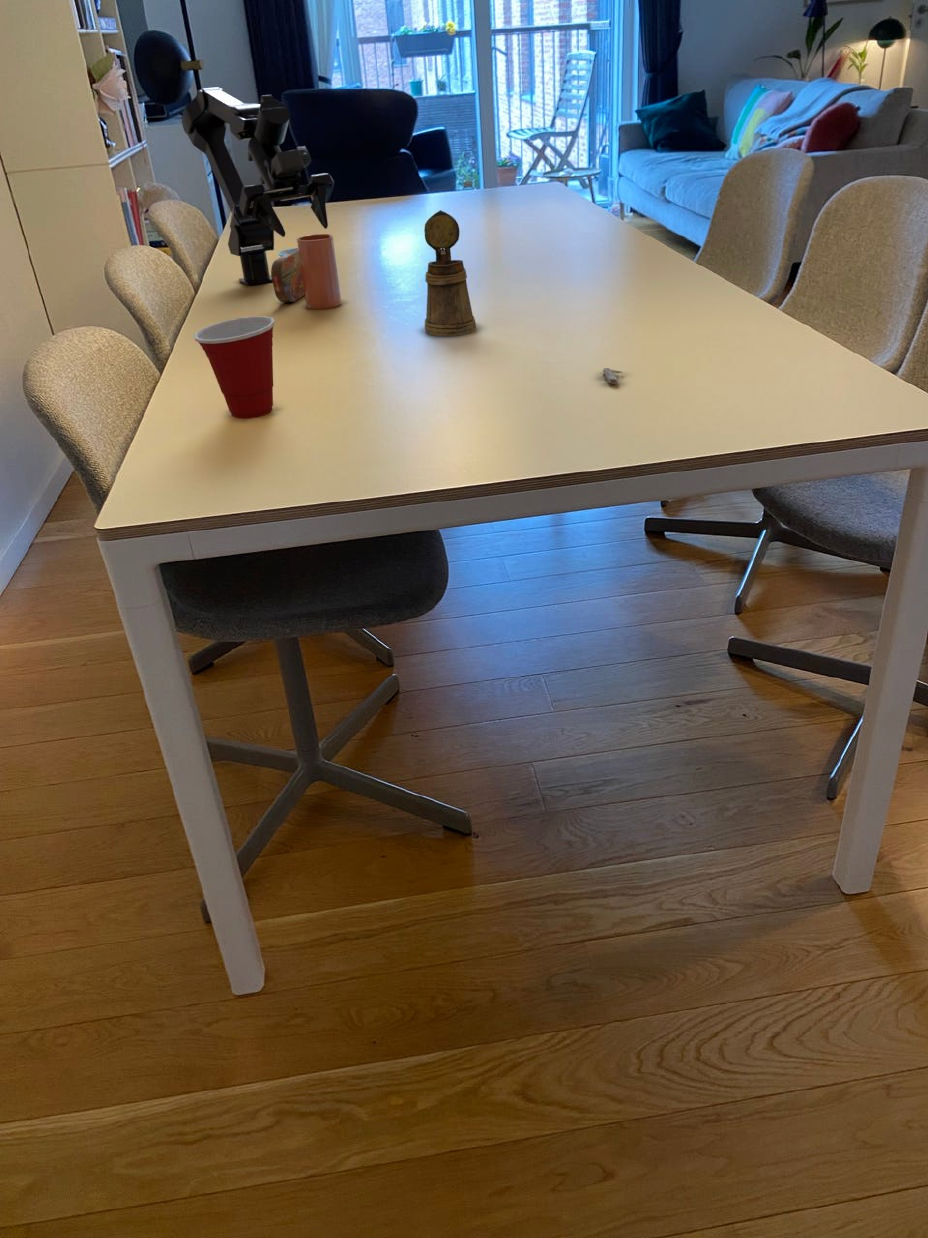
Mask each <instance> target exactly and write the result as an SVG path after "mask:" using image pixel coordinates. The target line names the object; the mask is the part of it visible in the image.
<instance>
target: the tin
mask: <svg viewBox="0 0 928 1238" xmlns="http://www.w3.org/2000/svg"><path fill="white" fill-rule="evenodd" d="M270 268H271V269H270V270H271V271H270V276H271V278H272V281H271V282H272V286H273V289H274V294H275V297H276V298H277V300H278V301H279V302H281V303H295V302H297V301H298V300H300V299H301V298H302V297H305V292H304V285H303V279H302V272H301V265H300V258H299V252H298V251H296V252H289V253H287V254H285V255H284V256H282V257H280V256H279V257H278V258H277V259H275V260H274V261H273V262H272V265H271V267H270Z"/></svg>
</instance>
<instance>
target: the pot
mask: <svg viewBox="0 0 928 1238" xmlns="http://www.w3.org/2000/svg"><path fill="white" fill-rule="evenodd" d="M334 243H335V242H334V236H333V235H332V234H329V233H318V234H317V233H316V234H307V235H303V236H299V237H297V238H296V245H297V248H298V252H299V258H300V265H301V272H302V279H303V285H304V292H305V295H304V299H305V304H306V308H308V309H312V310H324V309H331V308H335V307H339V306H340V305H342V298H341V297H342V296H341V289H340V282H339V281H340V280H339V274H338V267H337V258H336V252H335V251H336V250H335V244H334Z"/></svg>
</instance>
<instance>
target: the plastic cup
mask: <svg viewBox="0 0 928 1238" xmlns="http://www.w3.org/2000/svg"><path fill="white" fill-rule="evenodd" d="M274 326H275V319H274V318H273V317H271V316H267V315H266V316H265V315H263V316H262V315H259V316H258V315H256V316H255V315H253V316H245V317H238V318H234V319H228V320H224V321H220V322H218V323H214V324H210V325H208V326H206V327H204V328H201V329H199V330H198V331H197V332H196V333H194V334H193V338H194V340H195V342H197V343H198V344H199V345H200V346H201V348H202V350H203V352H204V354H205V356H206V359H208V361H209V364H210V366H211V369H212V371H213V374H214V376H215V379H216V382H217V384H218V386H219V389H220V393H221V394H222V395H223V397H224V400H225V403H226V405H227V408H228V411H229V413H230V414H231V417H233V418H235V419H239V420H240V419H241V420H245V419H246V420H249V419H256V418H260V417H264V416H266V415H268V414H270V413H271V412H272V411H273V406H274V389H273V387H274V363H273V362H274V361H273V358H274V357H273V346H274V343H273V338H274V333H273V332H274Z"/></svg>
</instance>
